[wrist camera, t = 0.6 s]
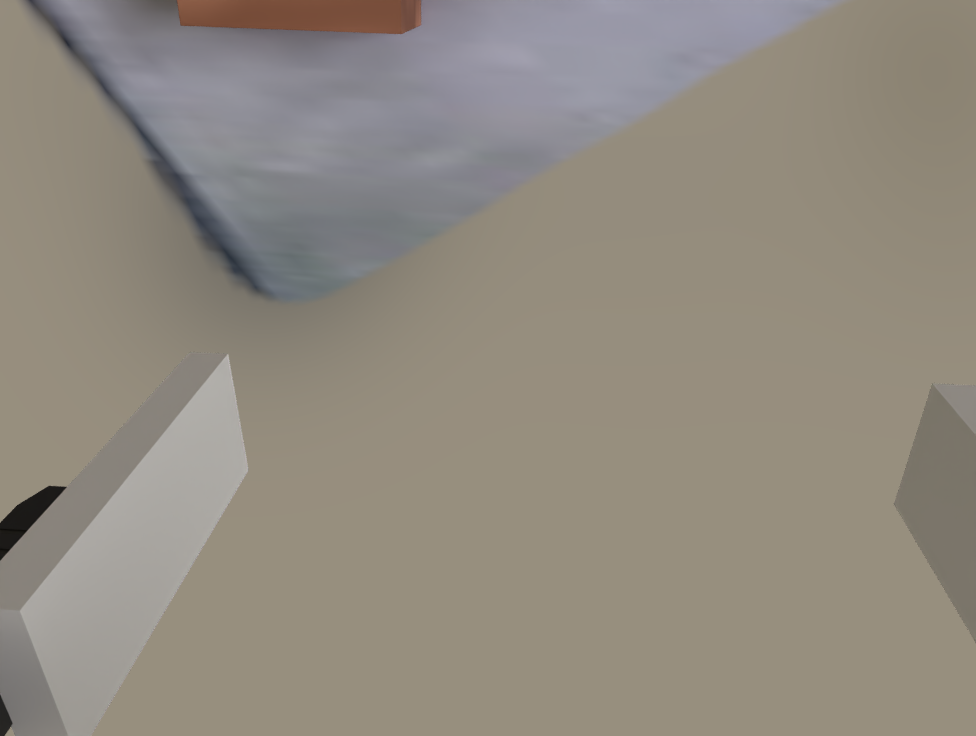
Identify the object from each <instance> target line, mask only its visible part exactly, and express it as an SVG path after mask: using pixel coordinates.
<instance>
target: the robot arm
mask: <svg viewBox="0 0 976 736" xmlns="http://www.w3.org/2000/svg"><path fill="white" fill-rule="evenodd" d="M247 472H248V465H247V459H246V453H245V448H244V442H243V436H242V430H241V425H240V420H239V413H238V408H237V402H236V397H235V390H234V385H233V379H232V374H231V368H230V363H229V356H228V354H224V353H223V354H222V353H199V352H190V353H188V354H187V356H186V357H185V358H184V359H183V360H182V361H181V362H180V363H179V364H178V365H177V367H176V368H175V369H174V370H173V371H172V372H171V373H170V374H169V375H168V376H167V378H166V379H165V380H164V381H163V382H162V383H161V384H160V385H159V387H157V389H156V390H155V391H154V392H153V393H152V394H151V395H150V396H149V397H148V398H147V400H146V401H145V402H144V403H143V404H142V405H141V406H140V407H139V408H138V410H137V411H136V412H135V413H134V414H133V415H132V416H131V417H130V418H129V420H128V421H127V422H126V423H125V424H124V425H123V426H122V427H121V428H120V429H119V430H118V432H117V433H116V434H115V435H114V436H113V437H112V438H111V440H109V442H108V443H107V444H106V445H105V446H104V447H103V448H102V449H101V450H100V452H98V454H97V455H96V456H95V457H94V458H93V459H92V460H91V461H90V463H89V464H88V465H87V466H86V467H85V468H84V469H83V470H82V471H81V472H80V474H79V475H78V476H77V477H76V478H75V479H74V480H73V481H72V482H71V483H70V484H69V486H68V487H58V486H48V487H46V488H45V489H43V490H41V491H40V492H38V493H37V494H35V495H33V496H32V497H30V498H28V499H27V500H25V501H23V502H22V503H20V504H19V505H17V506H16V507H15V508H14V509H13V510H12V511H11V512H10V513H9V514H8V515H7V516H6V517H5V518H4V520H3V521H2V522H1V523H0V736H5V734H6V733H7V731H8V730H9V728H10V727H12V729H13V732H14V734H15V736H91V735H92V733H93V731H94V730H95V728H96V726H97V725H98V723H99V721H100V719H101V718H102V716H103V714H104V713H105V711H106V709H107V708H108V706H109V704H110V703H111V701H112V699H113V698H114V696H115V694H116V692H117V691H118V689H119V687H120V686H121V684H122V682H123V681H124V679H125V677H126V676H127V674H128V672H129V670H130V669H131V667H132V666H133V664H134V662H135V660H136V659H137V657H138V655H139V654H140V652H141V650H142V649H143V647H144V645H145V643H146V642H147V640H148V638H149V637H150V635H151V634H152V632H153V630H154V628H155V627H156V625H157V623H158V622H159V620H160V618H161V617H162V615H163V613H164V612H165V610H166V608H167V607H168V605H169V603H170V601H171V600H172V598H173V596H174V595H175V593H176V591H177V590H178V588H179V586H180V584H181V583H182V581H183V580H184V578H185V576H186V574H187V573H188V571H189V569H190V568H191V566H192V564H193V563H194V561H195V559H196V558H197V556H198V554H199V552H200V551H201V549H202V548H203V546H204V544H205V542H206V541H207V539H208V537H209V536H210V534H211V532H212V531H213V529H214V527H215V525H216V524H217V522H218V520H219V519H220V517H221V516H222V514H223V512H224V510H225V509H226V507H227V505H228V504H229V502H230V500H231V499H232V497H233V495H234V493H235V492H236V490H237V489H238V487H239V485H240V483H241V481H242V480H243V478H244V477H245V475H246V473H247ZM894 505H895V507H896V509H897V510H898V512H899V514H900V515H901V517H902V519H903V520H904V522H905V524H906V526H907V527H908V529H909V531H910V532H911V534H912V536H913V537H914V539H915V541H916V542H917V544H918V546H919V547H920V549H921V551H922V552H923V554H924V556H925V558H926V559H927V561H928V563H929V564H930V566H931V568H932V569H933V571H934V573H935V574H936V576H937V578H938V580H939V581H940V583H941V585H942V586H943V588H944V590H945V592H946V593H947V595H948V597H949V598H950V600H951V602H952V603H953V605H954V607H955V608H956V610H957V612H958V614H959V615H960V617H961V618H962V620H963V622H964V623H965V625H966V627H967V628H968V630H969V632H970V634H971V635H972V637H973V639H974V641H975V642H976V385H954V384H932V386H931V389H930V392H929V395H928V399H927V402H926V405H925V408H924V411H923V414H922V417H921V421H920V424H919V427H918V430H917V433H916V436H915V440H914V443H913V446H912V449H911V452H910V455H909V459H908V462H907V465H906V468H905V471H904V474H903V478H902V481H901V484H900V488H899V490H898V493H897V496H896V500H895V503H894Z"/></svg>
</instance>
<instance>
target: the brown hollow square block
mask: <svg viewBox="0 0 976 736" xmlns="http://www.w3.org/2000/svg"><path fill="white" fill-rule="evenodd" d="M177 4H178V11H179V18H180V25H181V26H205V27H231V28H258V29H284V30H310V31H336V32H362V33H388V34H403V33H405V32H407V31H409V30H411V29H413V28H416V27H418V26H420V25H421V0H177Z"/></svg>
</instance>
